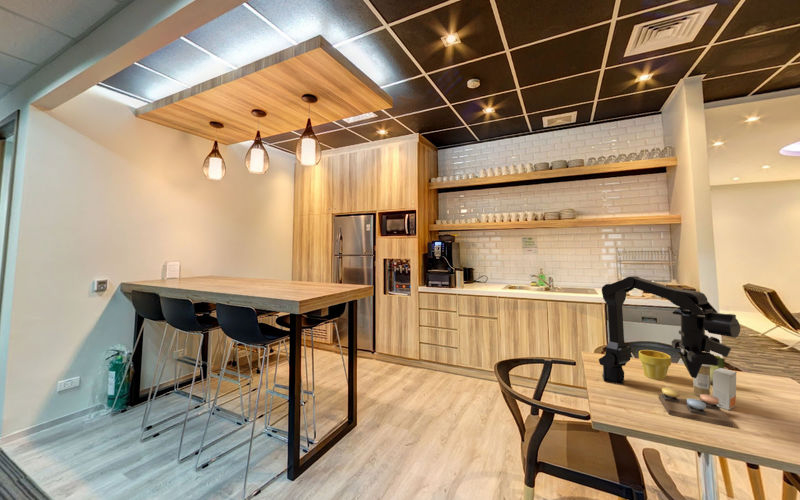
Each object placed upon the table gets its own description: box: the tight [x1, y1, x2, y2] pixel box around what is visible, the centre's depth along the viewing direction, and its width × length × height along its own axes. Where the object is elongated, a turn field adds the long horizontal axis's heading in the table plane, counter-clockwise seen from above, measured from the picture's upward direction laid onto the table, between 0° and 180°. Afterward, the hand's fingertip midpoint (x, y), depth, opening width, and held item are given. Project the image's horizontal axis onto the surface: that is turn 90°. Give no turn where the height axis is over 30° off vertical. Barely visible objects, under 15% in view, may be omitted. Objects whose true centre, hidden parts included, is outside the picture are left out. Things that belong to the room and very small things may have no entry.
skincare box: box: [712, 368, 737, 411], centre depth 104 cm, size 6×4×12 cm
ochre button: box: [661, 387, 680, 398], centre depth 105 cm, size 4×4×2 cm
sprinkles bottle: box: [692, 364, 711, 398], centre depth 111 cm, size 5×5×14 cm
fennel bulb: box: [710, 353, 726, 386], centre depth 120 cm, size 6×5×12 cm
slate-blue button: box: [686, 398, 706, 410], centre depth 98 cm, size 4×4×2 cm
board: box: [658, 393, 734, 428], centre depth 100 cm, size 15×12×2 cm
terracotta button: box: [699, 394, 719, 405], centre depth 101 cm, size 4×4×2 cm
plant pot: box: [638, 349, 672, 381], centre depth 127 cm, size 10×10×10 cm
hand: (693, 377), depth 99 cm, fingers closed
